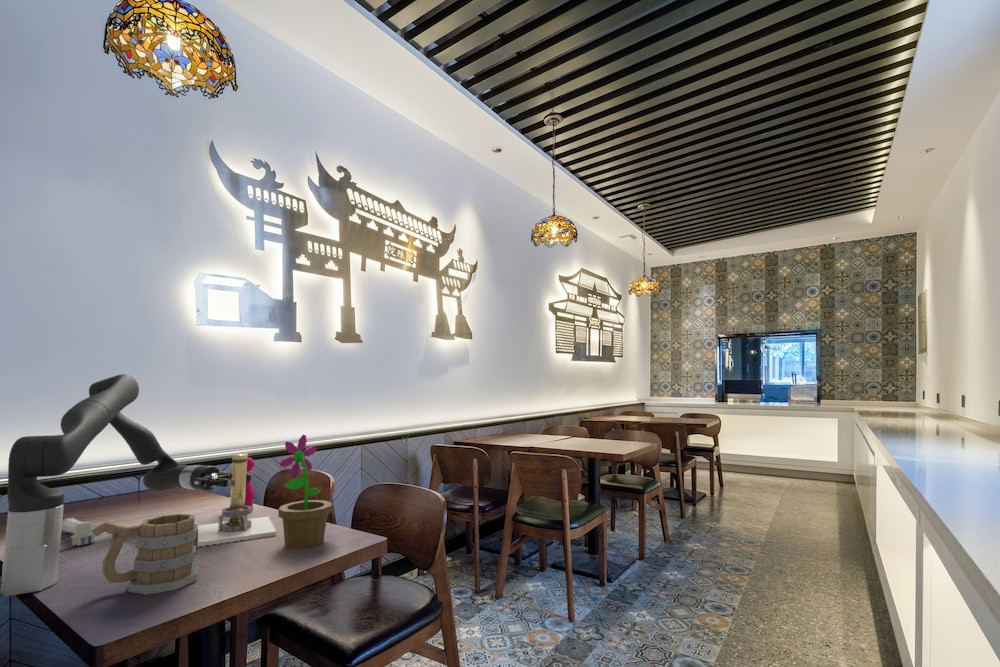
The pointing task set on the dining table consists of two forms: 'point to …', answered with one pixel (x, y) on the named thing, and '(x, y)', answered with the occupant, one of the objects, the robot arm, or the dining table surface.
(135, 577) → the tankard
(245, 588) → the dining table surface
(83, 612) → the dining table surface
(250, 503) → the pepper mill
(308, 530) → the flowerpot
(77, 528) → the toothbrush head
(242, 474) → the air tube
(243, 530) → the base
